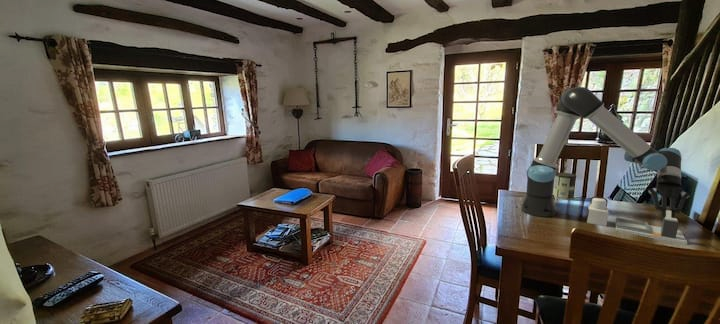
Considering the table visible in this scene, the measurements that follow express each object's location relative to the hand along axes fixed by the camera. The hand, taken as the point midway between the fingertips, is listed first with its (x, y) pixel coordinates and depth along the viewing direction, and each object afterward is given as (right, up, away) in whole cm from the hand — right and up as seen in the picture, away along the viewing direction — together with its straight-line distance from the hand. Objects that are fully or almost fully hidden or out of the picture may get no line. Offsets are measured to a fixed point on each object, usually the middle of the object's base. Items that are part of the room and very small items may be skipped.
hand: (667, 225), depth 123 cm
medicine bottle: (-17, -2, +16) cm, 24 cm away
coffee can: (-7, +5, +53) cm, 54 cm away
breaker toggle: (-3, -4, -3) cm, 5 cm away
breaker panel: (-4, -4, +4) cm, 7 cm away
